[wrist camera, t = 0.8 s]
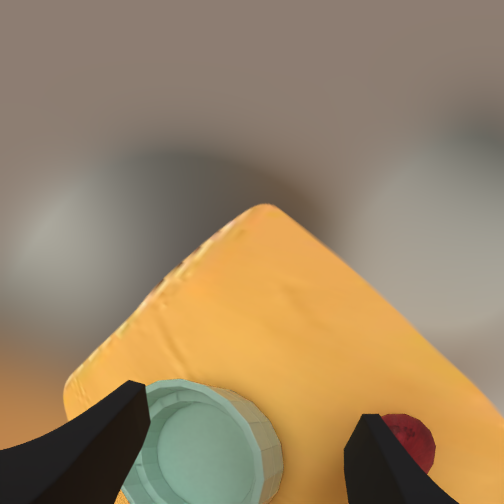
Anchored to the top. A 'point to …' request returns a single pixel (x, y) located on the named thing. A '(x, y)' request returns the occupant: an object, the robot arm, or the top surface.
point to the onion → (413, 438)
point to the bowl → (204, 449)
